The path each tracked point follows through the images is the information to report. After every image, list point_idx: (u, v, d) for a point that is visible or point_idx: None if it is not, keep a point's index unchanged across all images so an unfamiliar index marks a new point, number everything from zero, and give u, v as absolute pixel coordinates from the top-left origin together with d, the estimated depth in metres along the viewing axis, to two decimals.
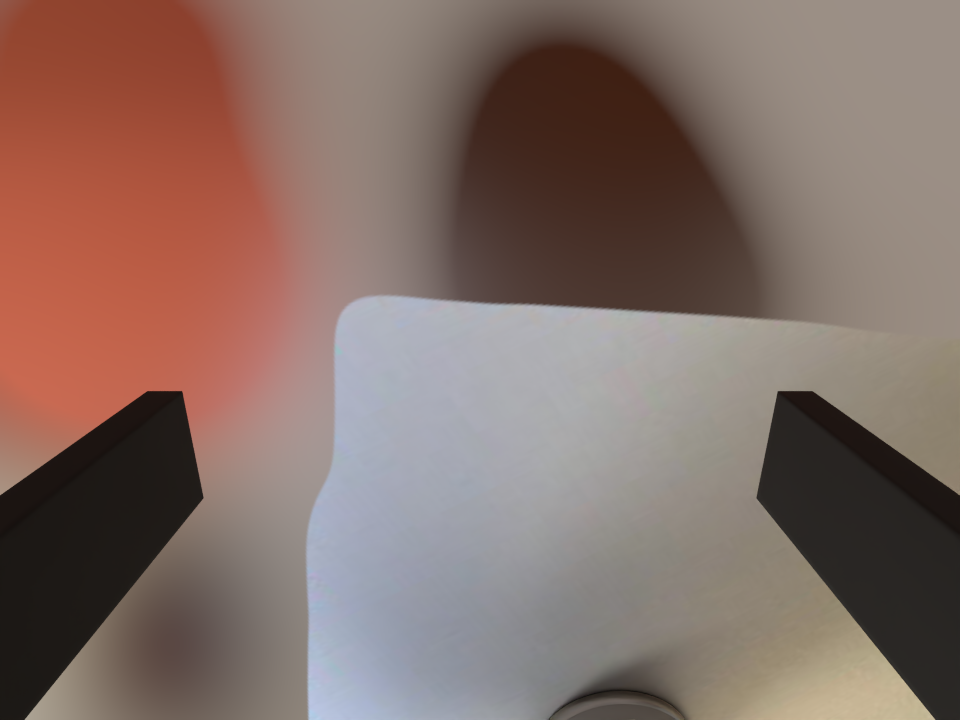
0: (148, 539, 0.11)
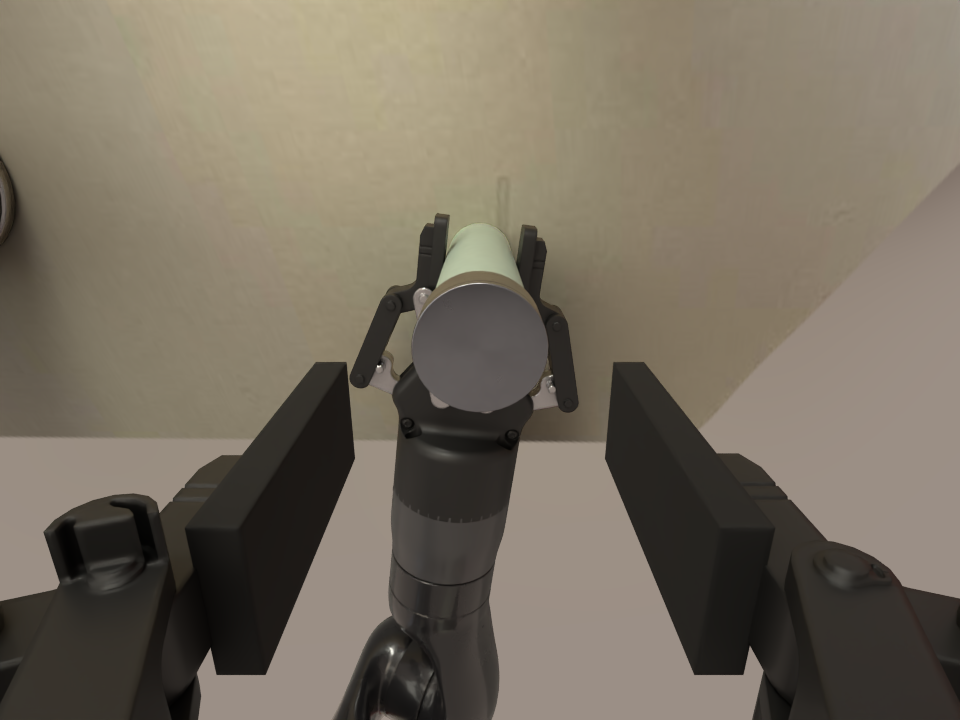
0: (333, 487, 0.12)
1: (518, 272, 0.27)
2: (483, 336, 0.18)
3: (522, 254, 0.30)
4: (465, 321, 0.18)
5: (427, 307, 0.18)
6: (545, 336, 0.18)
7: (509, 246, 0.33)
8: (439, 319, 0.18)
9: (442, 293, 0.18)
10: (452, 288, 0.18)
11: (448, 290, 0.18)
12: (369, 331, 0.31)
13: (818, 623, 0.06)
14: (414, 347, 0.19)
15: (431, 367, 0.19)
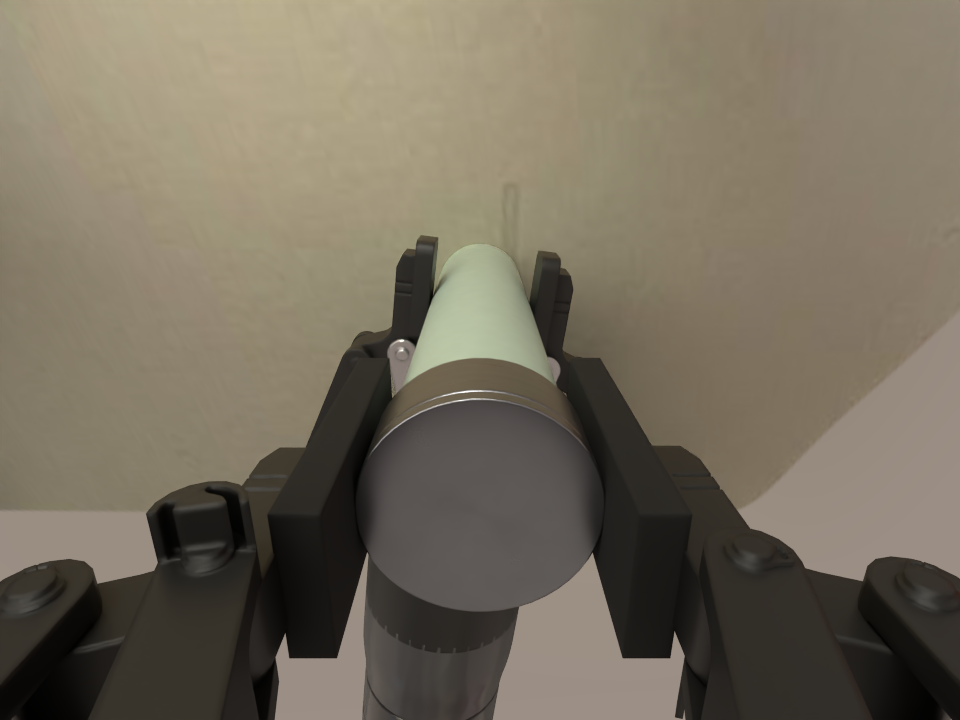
0: None
1: (536, 327, 0.18)
2: (486, 490, 0.10)
3: (539, 294, 0.21)
4: (453, 465, 0.10)
5: (381, 441, 0.10)
6: (601, 490, 0.10)
7: (519, 277, 0.25)
8: (404, 462, 0.10)
9: (409, 416, 0.10)
10: (427, 407, 0.09)
11: (420, 411, 0.09)
12: (327, 397, 0.23)
13: (727, 608, 0.06)
14: (359, 509, 0.10)
15: (391, 541, 0.10)
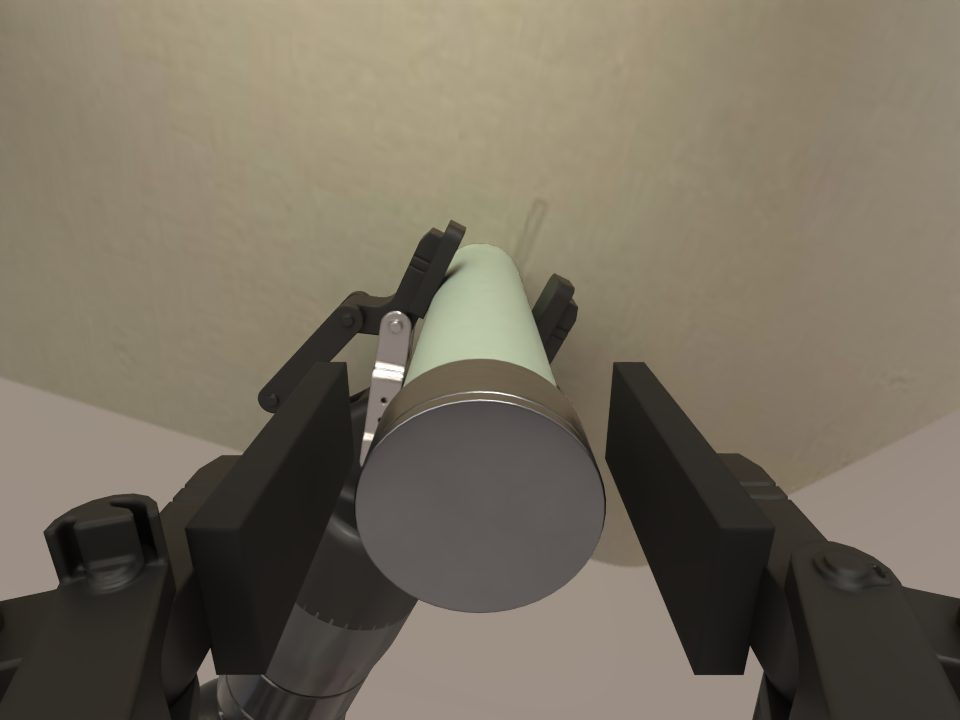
0: (333, 487, 0.12)
1: None
2: (458, 500, 0.10)
3: (544, 314, 0.22)
4: (418, 514, 0.10)
5: (368, 555, 0.10)
6: (510, 405, 0.09)
7: None
8: (396, 548, 0.10)
9: (357, 524, 0.10)
10: (354, 508, 0.10)
11: (355, 515, 0.10)
12: (306, 343, 0.22)
13: (818, 624, 0.06)
14: (425, 598, 0.11)
15: (471, 591, 0.11)
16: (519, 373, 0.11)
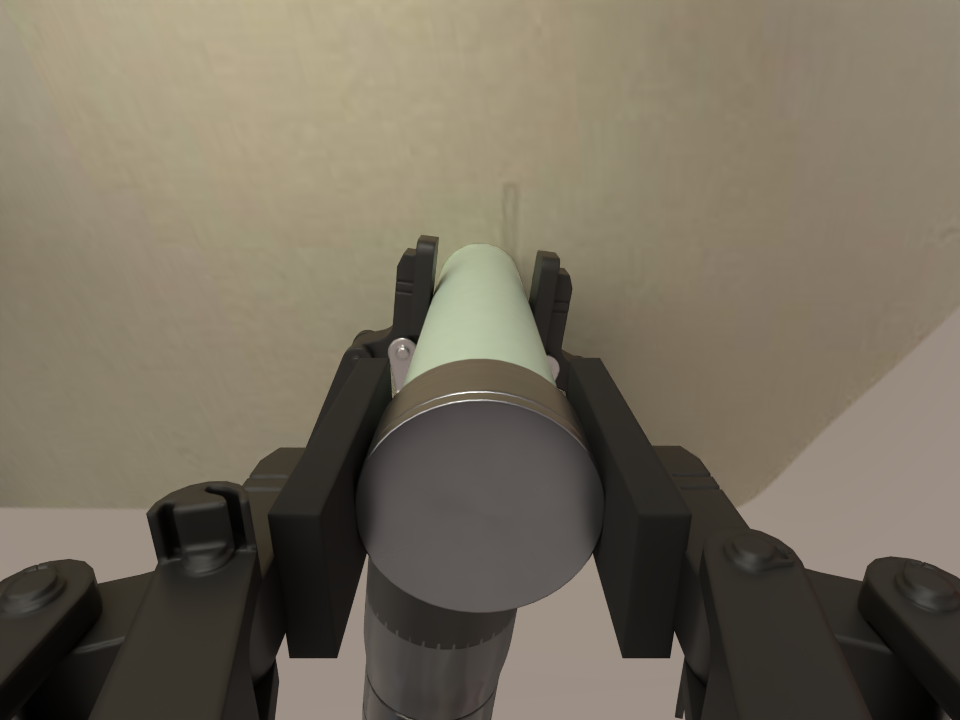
0: None
1: (536, 326, 0.18)
2: (453, 507, 0.10)
3: (539, 293, 0.21)
4: (422, 531, 0.10)
5: None
6: (465, 402, 0.09)
7: (519, 276, 0.25)
8: (415, 568, 0.11)
9: (371, 556, 0.11)
10: (362, 542, 0.10)
11: (365, 549, 0.10)
12: (328, 395, 0.23)
13: (727, 608, 0.06)
14: (462, 608, 0.11)
15: (501, 589, 0.11)
16: (480, 367, 0.11)
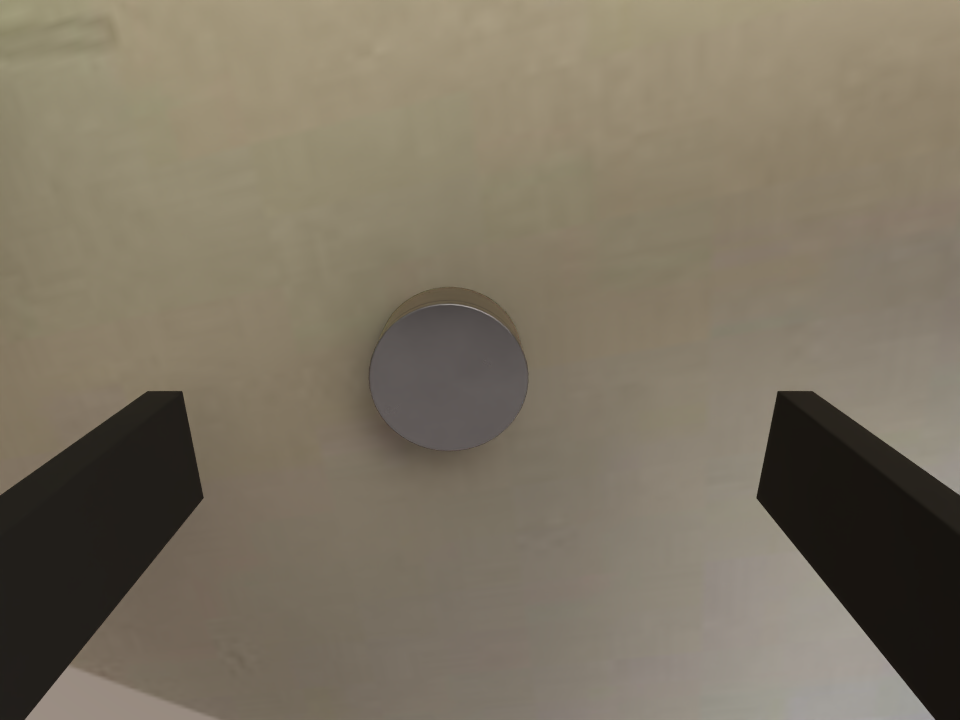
0: (148, 539, 0.11)
1: None
2: (432, 375, 0.16)
3: None
4: (412, 393, 0.16)
5: (393, 429, 0.16)
6: (438, 305, 0.15)
7: None
8: (408, 419, 0.16)
9: (379, 412, 0.16)
10: (374, 402, 0.16)
11: (376, 406, 0.16)
12: None
13: None
14: (439, 447, 0.17)
15: (464, 433, 0.17)
16: (448, 290, 0.17)
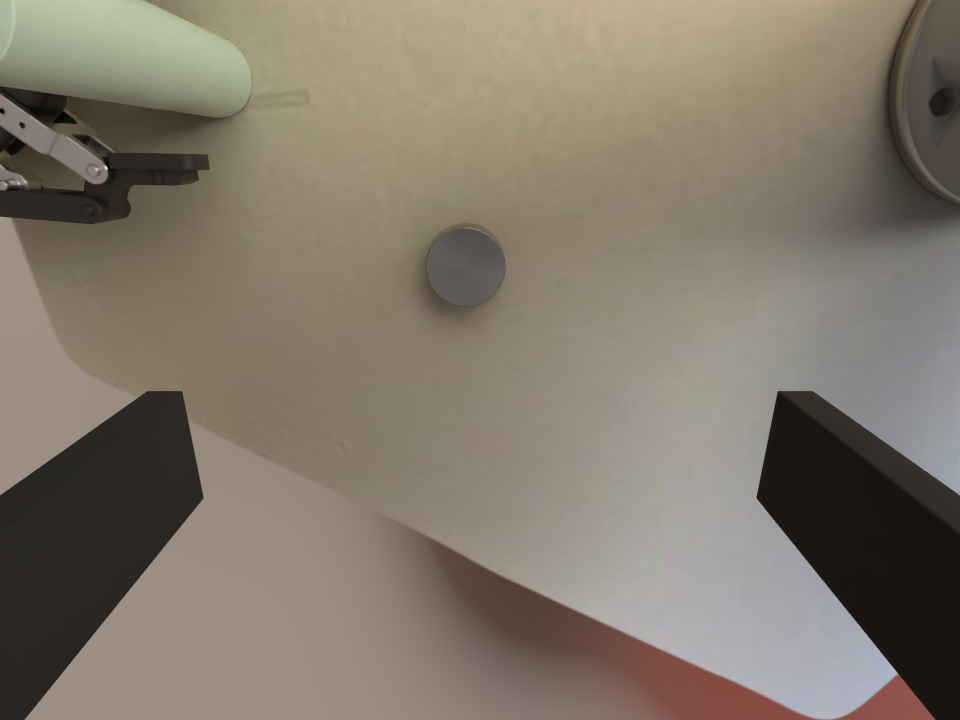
0: (148, 539, 0.11)
1: (129, 91, 0.21)
2: (457, 265, 0.32)
3: (159, 155, 0.25)
4: (447, 274, 0.32)
5: (437, 294, 0.33)
6: (460, 228, 0.31)
7: (215, 105, 0.28)
8: (445, 288, 0.33)
9: (430, 284, 0.33)
10: (428, 279, 0.32)
11: (429, 281, 0.32)
12: None
13: None
14: (460, 304, 0.33)
15: (473, 296, 0.33)
16: (465, 224, 0.33)
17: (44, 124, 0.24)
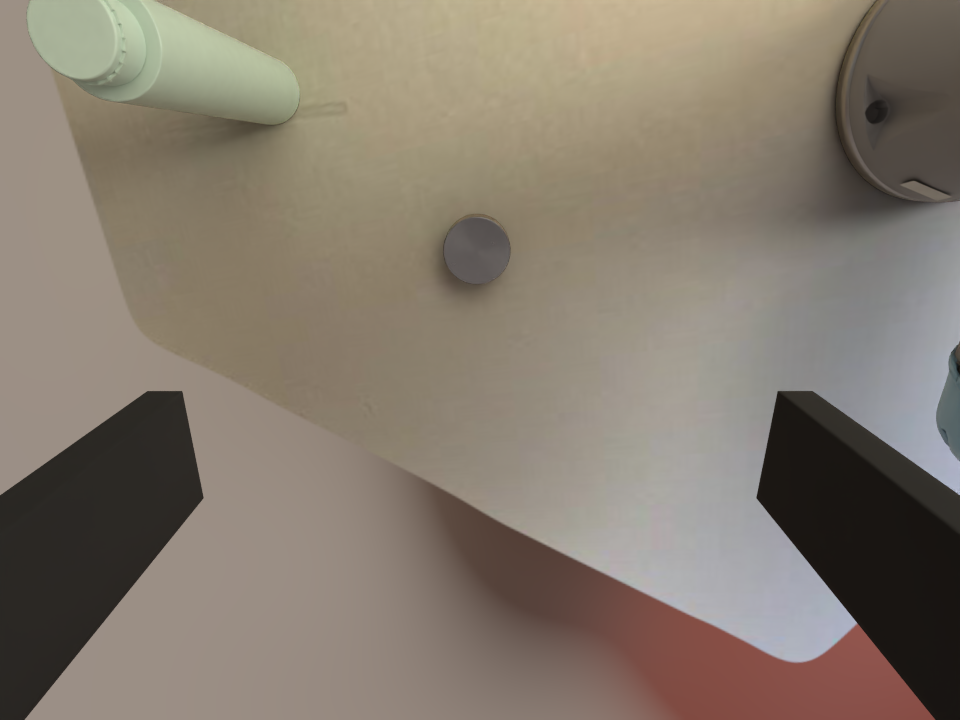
0: (148, 539, 0.11)
1: (218, 106, 0.27)
2: (469, 248, 0.38)
3: None
4: (461, 256, 0.38)
5: (453, 273, 0.39)
6: (473, 218, 0.37)
7: (273, 115, 0.34)
8: (459, 268, 0.39)
9: (447, 265, 0.39)
10: (445, 260, 0.38)
11: (446, 262, 0.38)
12: None
13: None
14: (472, 282, 0.39)
15: (483, 275, 0.39)
16: (476, 214, 0.39)
17: None
